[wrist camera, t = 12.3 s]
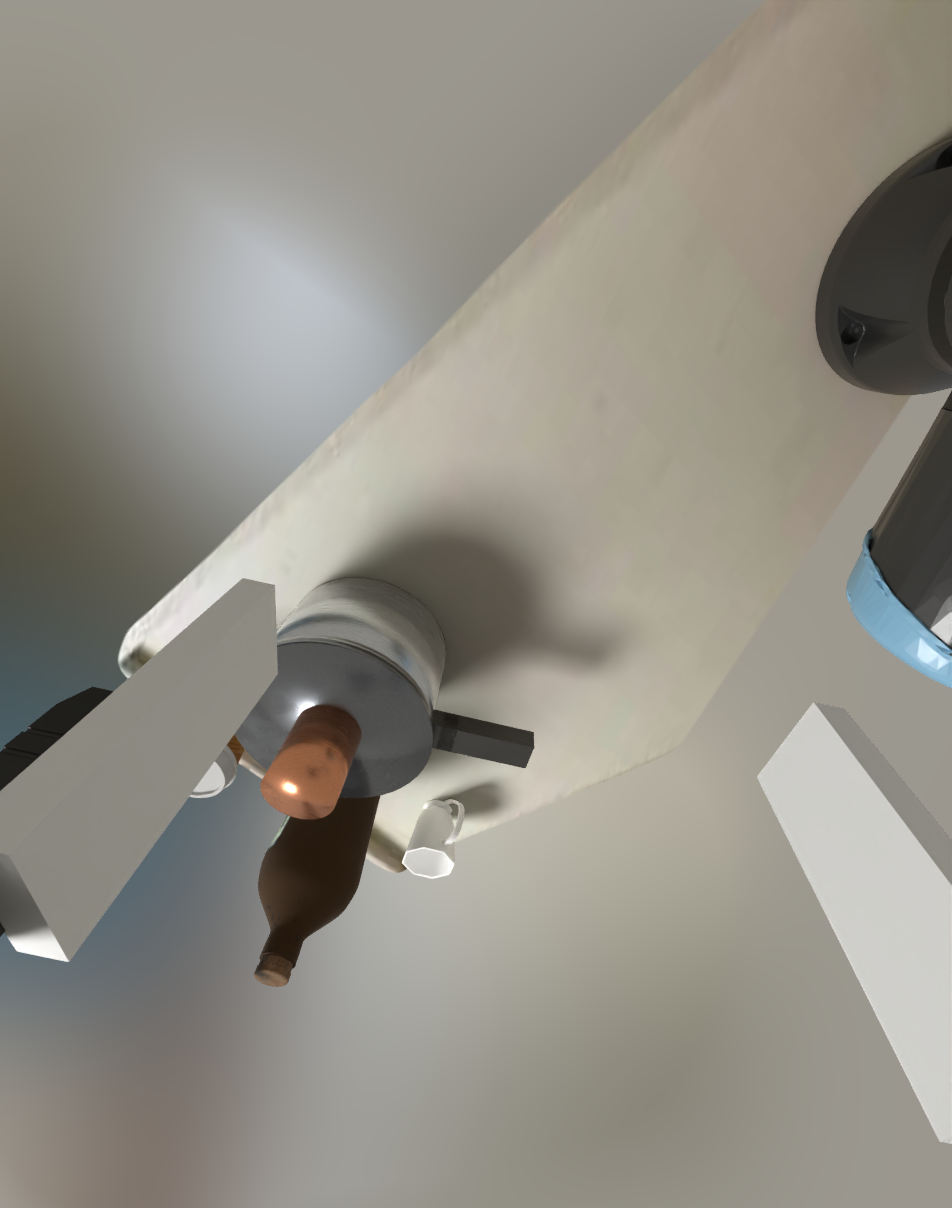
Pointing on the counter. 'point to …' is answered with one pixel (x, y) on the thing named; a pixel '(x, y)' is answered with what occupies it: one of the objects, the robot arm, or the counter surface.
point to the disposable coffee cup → (220, 771)
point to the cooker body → (402, 656)
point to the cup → (434, 840)
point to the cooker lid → (335, 728)
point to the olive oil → (310, 879)
